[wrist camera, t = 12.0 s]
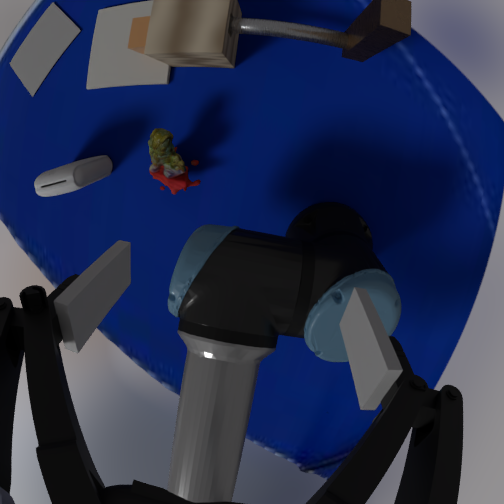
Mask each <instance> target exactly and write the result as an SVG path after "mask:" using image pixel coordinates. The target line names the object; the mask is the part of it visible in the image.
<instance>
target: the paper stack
mask: <svg viewBox="0 0 504 504" xmlns="http://www.w3.org/2000/svg"><path fill="white" fill-rule="evenodd" d="M80 31H81V30H80V29H79V28H78V27H77V26H76V25H75V24H74V23H73V22H72V21H71V20H70V19H69V18H68V17H67V16H66V15H65V14H64V13H63V12H62V11H61V10H60V9H59V8H58V7H57V6H56V5H55V4H54V3H52V4H51V5H50V6H49V8H48V9H47V10H46V11H45V13H44V14H43V15H42V16H41V18H40V19H39V20H38V22H37V23H36V24H35V26H34V27H33V29H32V30H31V31H30V33H29V34H28V36H27V37H26V39H25V40H24V42H23V43H22V45H21V46H20V48H19V49H18V51H17V52H16V54H15V56H14V57H13V59H12V61H11V62H10V65H11V67H12V68H13V70H14V71H15V73H16V74H17V76H18V77H19V78H20V80H21V81H22V83H23V84H24V86H25V87H26V88H27V90H28V91H29V93H30V94H31V95H32V97H33V96H34V94H35V92H36V91H37V89H38V88H39V86H40V85H41V83H42V82H43V80H44V79H45V77H46V76H47V74H48V73H49V71H50V70H51V68H52V67H53V66H54V64H55V63H56V61H57V60H58V59H59V57H60V56H61V55H62V53H63V52H64V51H65V49H66V48H67V47H68V46H69V44H70V43H71V42H72V41H73V39H74V38H75V37H76V36H77V35H78V33H79V32H80Z"/></svg>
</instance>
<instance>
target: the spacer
mask: <svg viewBox="0 0 504 504" xmlns="http://www.w3.org/2000/svg"><path fill="white" fill-rule="evenodd" d="M149 21H150V16H145V17H138V18H133V20H132V25H131V31H130V36H129V42H128V49H131V50H133V51H136V52H138V53H141V54H144V51H145V45H146V38H147V32H148V27H149Z"/></svg>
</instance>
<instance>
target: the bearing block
mask: <svg viewBox="0 0 504 504" xmlns="http://www.w3.org/2000/svg"><path fill="white" fill-rule="evenodd" d="M241 16H242V12H241V9H240V6H239V3H238V0H154V1H153V6H152V11H151V16H150V21H149V27H148V32H147V38H146V45H145V51H144V55H147V56H149V57H151V58H154V59H156V60H158V61H161V62H163V63H165V64H167V65H170V66H172V67H222V68H234V66H235V59H236V51H237V44H238V37H239V34H236V33H228V27H229V20H230V17H238V18H241Z"/></svg>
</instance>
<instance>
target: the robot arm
mask: <svg viewBox="0 0 504 504" xmlns="http://www.w3.org/2000/svg"><path fill="white" fill-rule="evenodd" d="M372 249H373V242H372V236H371V232H370V229H369V227H368V225H367V224H366V222H365V221H364V219H363V218H362V217H361V216H360V215H359V214H358V213H357V212H356V211H355V210H354V209H352V208H350V207H349V206H346V205H344V204H340V203H335V202H324V203H319V204H315V205H313V206H310V207H308V208H306V209H305V210H303V211H302V212H301V213H299V214H298V215H297V216H296V217H295V218H294V220H293V221H292V222H291V224H290V226H289V228H288V230H287V232H286V236H285V237H283V236H278V235H272V234H267V233H262V232H256V231H251V230H245V229H241V228H239V227H238V226H233V227H228V226H220V225H212V224H208V225H203V226H201V227H199V228H198V229H196V230H195V231H194V233H193V234H192V235H191V236H190V237H189V239H188V240H187V242H186V244H185V246H184V248H183V250H182V252H181V254H180V256H179V259H178V261H177V264H176V267H175V270H174V273H173V276H172V280H171V284H170V290H169V291H170V295H169V298H168V308H169V311H170V312H171V313H172V314H173V315H174V316H175V317H180V321H179V327H178V334H179V335H180V337H181V338H182V339H183V341H184V342H185V344H186V346H187V349H188V351H187V356H186V362H185V368H184V374H183V380H182V386H181V393H180V399H179V406H178V412H177V419H176V427H175V434H174V441H173V448H172V457H171V464H170V472H169V481H168V490H165V489H163V488H160V487H156V486H153V485H149V484H146V483H143V482H140V481H136V480H134V481H133V484H132V485H114V486H109V487H106V488H105V486H104V484H103V482H102V480H101V478H100V476H99V474H98V472H97V470H96V468H95V466H94V463H93V461H92V458H91V456H90V453H89V451H88V448H87V445H86V442H85V440H84V437H83V434H82V431H81V428H80V425H79V422H78V419H77V416H76V412H75V409H74V406H73V402H72V399H71V395H70V391H69V388H68V383H67V379H66V375H65V371H64V366H63V362H62V357H61V351H60V347H59V343H60V342H61V341H62V340H63V342H64V346H65V348H66V349H68V350H71V351H73V352H76V353H79V351H80V350H81V349H82V347H83V346H84V344H85V343H86V341H87V340H88V339H89V337H90V336H91V335H92V333H93V332H94V330H95V329H96V328H97V326H98V325H99V324H100V322H101V321H102V320H103V318H104V317H105V316H106V314H107V313H108V312H109V310H110V309H111V308H112V306H113V305H114V304H115V302H116V301H117V300H118V299H119V297H120V296H121V295H122V293H123V292H124V291H125V290H126V288H127V287H128V286H129V285H130V283H131V276H130V242H125V241H121V240H119V241H118V242H116V243H115V244H114V245H113V246H112V247H111V248H109V249H108V250H107V251H106V252H105V253H104V254H103V255H102V256H100V257H99V258H98V259H97V260H96V261H95V262H94V263H93V264H92V265H91V266H89V267H88V268H87V269H86V270H85V271H84V272H83V273H82V274H81V275H77V274H75V275H73V276H70V277H68V278H67V279H66V280H65V281H64V282H62V284H60V285H59V286H58V287H57V288H56V289H55V290H54V291H53V292H52V293H51V294H50V295H49V296H48V297H47V296H46V291H45V289H44V288H43V287H41V286H37V285H34V286H29V287H26V288H25V289H23V290H22V292H21V293H20V295H19V296H20V300H21V304H22V307H23V308H16V307H13V304H12V301H11V300H10V299H9V298H6V297H2V298H0V504H15V503H14V501H13V498H12V497H11V496H10V486H11V456H12V434H13V421H14V412H15V403H16V396H17V389H18V383H19V377H20V371H21V366H22V361H23V356H24V352H25V363H26V372H27V382H28V390H29V397H30V403H31V410H32V415H33V420H34V425H35V430H36V435H37V439H38V444H39V446H38V447H37V448H36V453H37V458H38V461H39V465H40V469H41V472H42V475H43V479H44V482H45V485H46V488H47V491H48V494H49V496H50V499H51V502H52V504H243V503H235V502H231V501H232V497H233V492H234V488H235V483H236V479H237V474H238V470H239V465H240V461H241V456H242V451H243V446H244V442H245V437H246V432H247V427H248V422H249V417H250V412H251V407H252V402H253V397H254V391H255V386H256V381H257V376H258V370H259V365H260V362H261V361H262V360H263V359H264V358H265V357H267V356H268V355H270V354H271V353H272V352H274V351H275V350H276V345H277V339H278V335H285V336H292V337H298V338H305V341H306V344H307V346H308V347H309V348H310V350H311V351H314V352H315V355H316V356H318V357H319V358H321V359H324V360H327V361H331V362H346V361H349V363H350V367H351V371H352V375H353V379H354V383H355V387H356V392H357V396H358V400H359V405H360V409H361V410H375V409H376V408H377V406H378V405H379V404H380V402H381V404H382V408H383V409H382V410H381V411H380V413H379V414H378V415H377V416H376V418H375V419H374V420H373V421H372V422H373V423H372V424H371V426H370V427H369V428H368V430H367V431H366V433H365V434H364V435H363V437H362V438H361V439H360V441H359V442H358V443H357V445H356V446H355V447H354V449H353V450H352V451H351V453H350V454H349V455H348V456H347V458H346V459H345V460H344V461H343V462H342V464H341V465H340V466H339V467H338V469H337V470H336V471H335V472H334V473H333V474H332V476H331V477H330V478H329V479H328V480H327V481H326V482H325V483H324V485H323V486H322V487H321V488H320V489H319V490H318V491H317V492H316V493H315V494H314V495H313V496H312V497H311V499H310V500H309V501H308V502H307V503H306V504H365V503H366V502H367V500H368V499H369V497H370V496H371V494H372V493H373V492H374V490H375V489H376V487H377V485H378V484H379V482H380V481H381V479H382V477H383V476H384V475H385V473H386V472H387V470H388V468H389V467H390V465H391V463H392V462H393V460H394V458H395V457H396V455H397V453H398V451H399V449H400V448H401V445H402V444H403V442H404V440H405V438H406V437H407V435H408V433H409V431H410V429H411V427H413V429H412V434H411V439H410V444H409V449H408V454H407V458H406V462H405V467H404V471H403V475H402V478H401V482H400V486H399V489H398V493H397V496H396V500H395V503H394V504H457V499H458V493H459V485H460V476H461V465H462V450H463V398H462V394H461V392H460V391H459V390H458V389H457V388H456V387H454V386H452V385H445V386H443V387H442V389H441V390H440V391H437V390H433V389H430V388H428V385H427V383H426V382H425V380H424V379H422V378H421V377H419V376H417V375H414V373H413V371H412V368H411V366H410V364H409V362H408V359H407V357H406V355H405V353H404V352H403V348H402V346H401V344H400V343H399V342H398V340H397V339H396V338H395V337H393V336H391V334H392V333H393V331H394V330H395V328H396V326H397V324H398V321H399V318H400V314H401V300H400V296H399V294H398V292H397V290H396V287H395V284H394V280H393V279H392V277H391V276H390V275H389V274H388V273H387V271H386V270H385V268H384V267H383V265H382V264H381V262H380V261H379V259H378V258H377V256H376V255H375V254H374V252H373V251H372Z"/></svg>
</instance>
